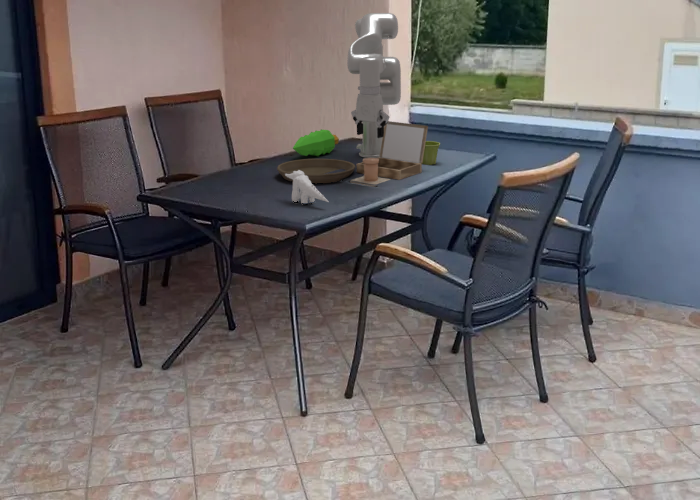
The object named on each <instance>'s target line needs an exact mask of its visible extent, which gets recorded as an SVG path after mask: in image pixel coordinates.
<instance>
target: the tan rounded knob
mask: <svg viewBox="0 0 700 500" xmlns="http://www.w3.org/2000/svg"><path fill="white" fill-rule="evenodd" d="M362 162H363V163H364V174H363V176H364V181H377V180H378V177H379V176H378V163H379V159H378V158H365V157H363V159H362Z"/></svg>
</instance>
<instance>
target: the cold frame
mask: <svg viewBox="0 0 700 500" xmlns="http://www.w3.org/2000/svg"><path fill="white" fill-rule="evenodd" d="M378 159H379V163H378V177H380V178H386V179H391V180H392V179H393V180H398V181H399V180H403V179H407V178H410V177H412V176H415V175H418V174H422V172H423V171H422V166H423V164H421V163H417V162H410V161H403V160H397V159H390V158H383V157H381V158H380V157H379V158H378ZM355 167H356V174H363V175H364V163H363V161H362V162H358V163H356V164H355Z"/></svg>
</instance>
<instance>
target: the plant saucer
mask: <svg viewBox="0 0 700 500" xmlns="http://www.w3.org/2000/svg"><path fill="white" fill-rule="evenodd" d="M276 169H277V171H278V173H279V175H281V176H282V178H283V179H284V180H286V181H289V182H291V181H292V183H293V179H291V178H289V177H287V176H285V174H292V173H293V171H298V170H300V171H303V172H304V175H305V176H308V178H309V180H310V181H311V183H315V185H318V184H317V183H323V184H332V183H331V182H333V183H338V182H342V181H341V180H343V179H344V178H347V177H349V176H350V175H351V174H352V173H354V171H355V169H356V164H354V163H353V162H351V161H348V160H343V159H335V158H303V159H295V160H290V161H284V162H281V163H280V164H278V165H277V168H276ZM338 170H343V171H338ZM335 171H338V172H335ZM337 181H338V182H337Z"/></svg>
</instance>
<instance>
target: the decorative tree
mask: <svg viewBox="0 0 700 500" xmlns="http://www.w3.org/2000/svg"><path fill="white" fill-rule="evenodd" d="M339 140H340V139H339V137H338V136H337V135H336V134H333V133H331V131H330V130H328V129H319V130H315V131H311V132H310V133H309V134H304V136H300V137H299V138H298V139H297V140H296V142H295V143H294V145H293V147H292V149H293V150H294V151H295V152H296V153H298V154H299V155H300V156H304V157H307V156H311V157H312V156H313V157H320V155H325V154H331V152H332V151H333V150H334V149H335V147H336V145H338V144H339Z"/></svg>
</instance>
